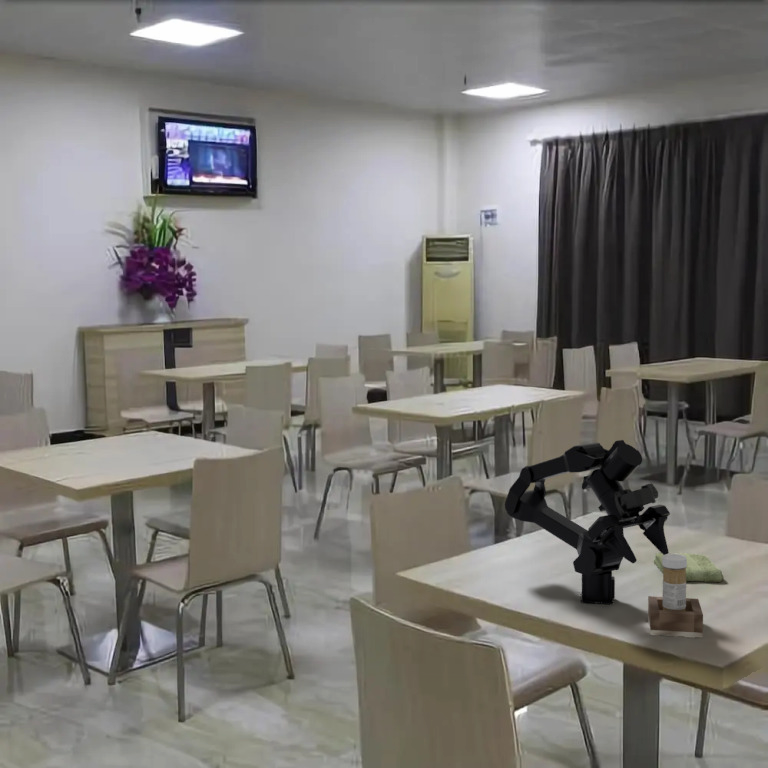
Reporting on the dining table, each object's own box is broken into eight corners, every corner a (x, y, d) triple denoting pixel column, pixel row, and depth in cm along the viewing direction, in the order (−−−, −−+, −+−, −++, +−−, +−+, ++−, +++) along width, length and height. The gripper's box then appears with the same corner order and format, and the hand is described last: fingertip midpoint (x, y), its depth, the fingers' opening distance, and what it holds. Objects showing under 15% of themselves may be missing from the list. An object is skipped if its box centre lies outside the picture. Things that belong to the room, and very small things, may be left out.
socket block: (650, 634, 189) (650, 612, 189) (648, 617, 199) (648, 596, 198) (702, 637, 187) (703, 615, 187) (697, 620, 196) (698, 598, 196)
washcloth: (706, 562, 238) (706, 549, 237) (726, 584, 220) (726, 570, 220) (651, 562, 239) (651, 549, 238) (666, 584, 221) (666, 570, 221)
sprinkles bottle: (678, 617, 195) (679, 551, 194) (690, 625, 191) (691, 558, 189) (657, 620, 194) (658, 553, 193) (669, 627, 190) (669, 560, 188)
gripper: (598, 477, 194) (640, 544, 186) (663, 466, 204) (705, 529, 196) (570, 509, 202) (609, 574, 194) (634, 496, 212) (674, 558, 204)
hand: (651, 558), depth 197 cm, fingers open, 9 cm apart
